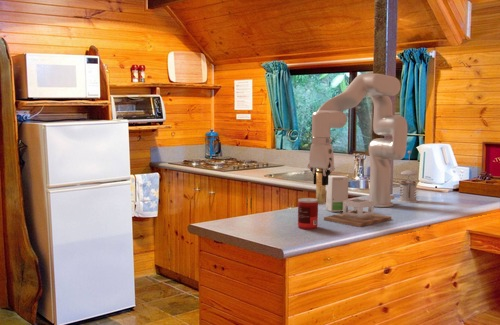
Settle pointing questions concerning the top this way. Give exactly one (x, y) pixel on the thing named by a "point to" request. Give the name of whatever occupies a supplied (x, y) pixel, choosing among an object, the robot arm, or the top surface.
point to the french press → (408, 187)
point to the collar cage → (358, 208)
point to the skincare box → (336, 193)
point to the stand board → (356, 222)
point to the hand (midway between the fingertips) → (320, 184)
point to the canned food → (307, 213)
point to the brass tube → (320, 187)
